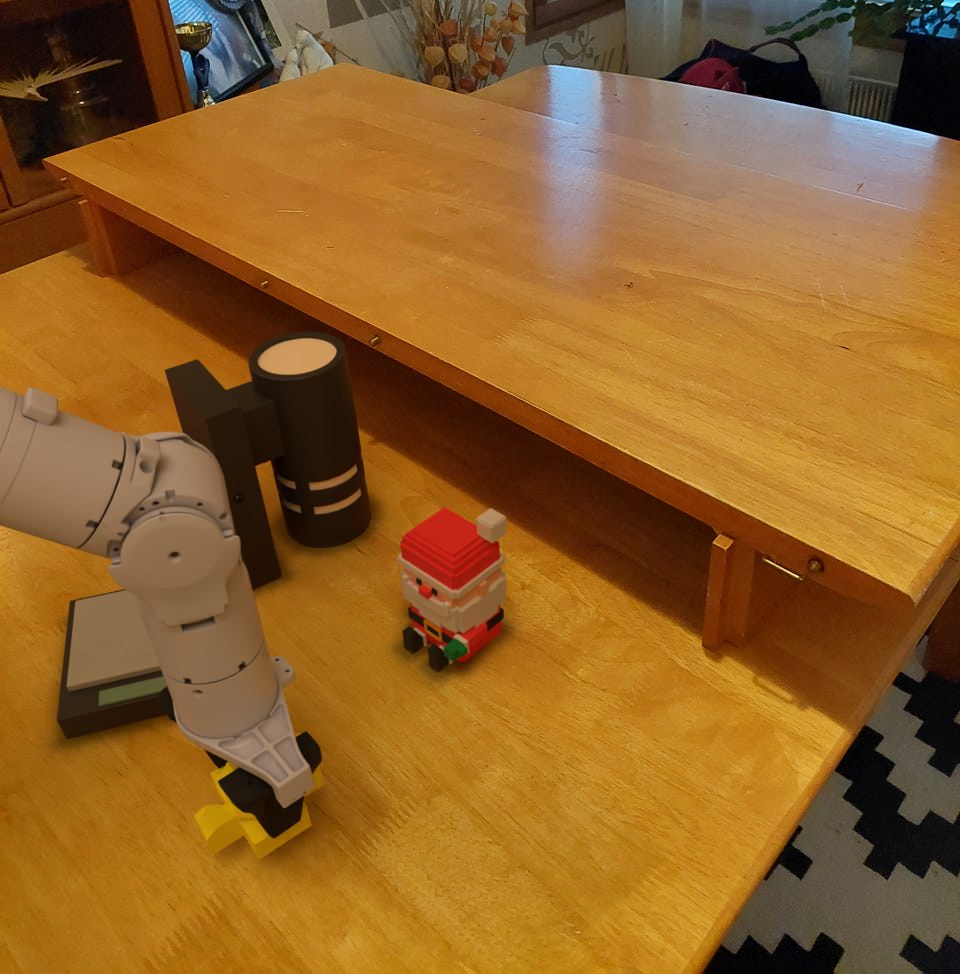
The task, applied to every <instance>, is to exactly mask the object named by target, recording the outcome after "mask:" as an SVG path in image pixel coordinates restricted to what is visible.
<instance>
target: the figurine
mask: <svg viewBox="0 0 960 974" xmlns="http://www.w3.org/2000/svg"><path fill="white" fill-rule="evenodd" d="M475 522H476V524H475V523H473V522H471V521H469V520H468V519H466V518H465V517H463V516H461V515H459V514H457V513H455V512H454V511H452V510H451V509H449V508H447V507H445V506H444V507H443V508H441V509H440V510H438V511H436V512H435V513H434V514H431V516H429V517H427V518H426V519H424V520H423V521H422V522H420V523H418V524H417V525H416V526H414V527H413V528H411V529H410V530H408V531H407V532H405V534H404V535H402V536H401V541H400V544H399V545H400V546H399V547H400V553H398V554H397V563H398V565H399V566H400V567H402V570H401V571H400V572H399V573H400V578H401V580H400V581H401V586H402V594H403V599H404V600H405V601H407V602H408V603H409V604H410V606H409V607H408V608H407V613H408V618H409V619H411V620H412V626H410V625H408V626H407V627H406V628H404V629H403V630H401V632H402V640H403V646H404V649H406V650H407V651H408V652H410V653H411V654H414V653H416V652H417V651H418V650H420V649H421V648H422V647H425V648H426V647H427V646H428V643H431V644H432V645H431V646H429V647H428V648H427V654H428V663H429V667H431V668H432V669H433V670H434V671H436V672H440V671H442V669H444V668H445V667H446V666H448V665H449V666H451V665H453V663H455V662H458V663H461V662H462V663H466V662H467V661H468V660H470V658H472V657H473V656H474V655H475V654H477V653H478V652H479V651H480V650H481V649H482V648H484V647H485V646H486V645H487V644H488V643H490V642H491V641H492V640H493V639H495V638H496V637H497V636H499V635H500V634H501V633H502V621H503V620H504V619H505V610H504V608H502V607H501V605H502V604H503V603H504V602H506V601H507V581H506V572H505V571H504V570H502V569H501V568H502V567H503V566H505V565H506V560H505V559H506V558H505V554H503V553H501V549H500V548H501V547H500V541H498V540H499V539H501V538H502V537H504V536H505V535H507V534H508V529H507V528H508V526H507V516H506V515H505V514H502V513H501V512H499V511H497V510H495V509H493V508H491V507H490V508H488V509H487V510H486V511H484V512H482V513H480V515H479V516H476V517H475ZM412 627H413V628H412Z"/></svg>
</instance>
